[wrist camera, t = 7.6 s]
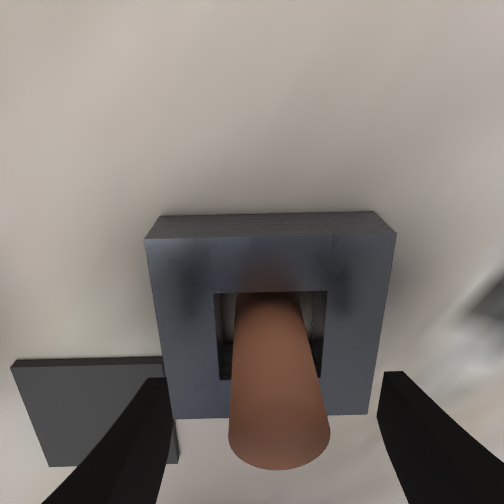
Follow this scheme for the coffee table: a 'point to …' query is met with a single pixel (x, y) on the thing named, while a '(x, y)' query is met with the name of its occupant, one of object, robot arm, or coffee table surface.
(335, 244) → the chuck plate
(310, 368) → the cylinder
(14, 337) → the coffee table surface
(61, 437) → the mat
